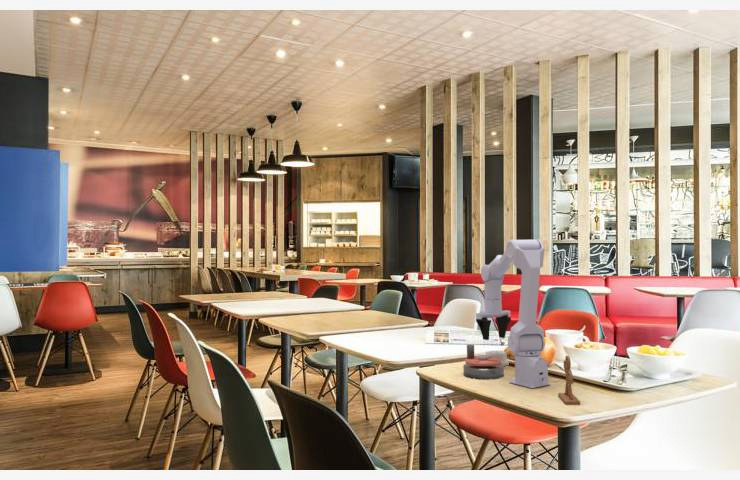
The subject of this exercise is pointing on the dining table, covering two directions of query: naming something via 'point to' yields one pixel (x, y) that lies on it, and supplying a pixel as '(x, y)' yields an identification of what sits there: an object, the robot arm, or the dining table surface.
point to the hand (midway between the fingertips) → (494, 338)
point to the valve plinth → (483, 371)
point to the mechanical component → (499, 356)
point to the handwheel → (480, 358)
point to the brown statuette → (568, 396)
